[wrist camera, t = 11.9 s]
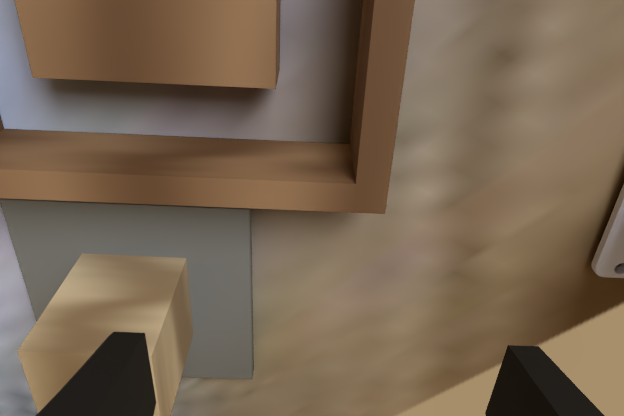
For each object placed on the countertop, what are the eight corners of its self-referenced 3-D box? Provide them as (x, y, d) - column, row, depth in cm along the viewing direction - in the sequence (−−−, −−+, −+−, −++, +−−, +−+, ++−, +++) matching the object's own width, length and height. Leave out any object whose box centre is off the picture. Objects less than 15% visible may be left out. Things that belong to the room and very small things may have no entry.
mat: (250, 201, 19) (248, 209, 19) (253, 368, 24) (252, 379, 23) (7, 191, 19) (-1, 199, 18) (58, 362, 24) (52, 372, 23)
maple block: (186, 258, 20) (151, 356, 15) (193, 333, 22) (163, 439, 18) (81, 253, 20) (17, 351, 15) (98, 329, 22) (45, 435, 17)
